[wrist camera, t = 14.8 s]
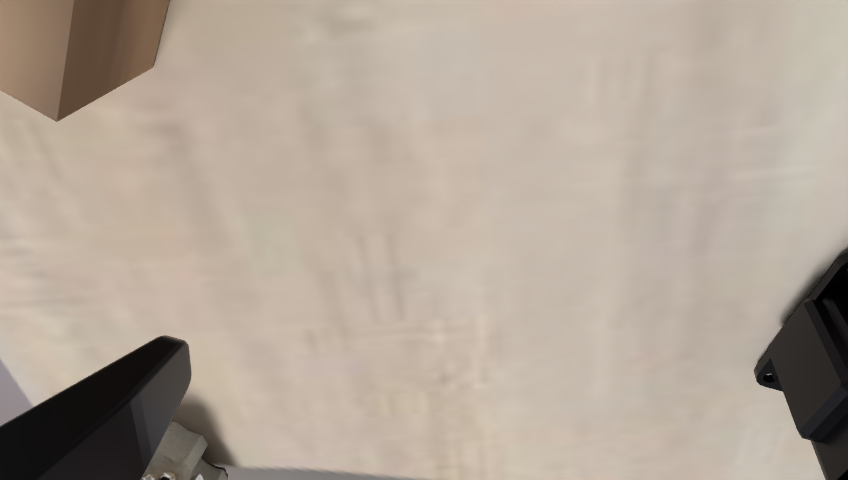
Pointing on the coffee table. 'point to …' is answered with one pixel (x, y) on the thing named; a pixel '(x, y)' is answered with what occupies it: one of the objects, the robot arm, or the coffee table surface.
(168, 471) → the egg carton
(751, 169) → the coffee table surface
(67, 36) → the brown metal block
